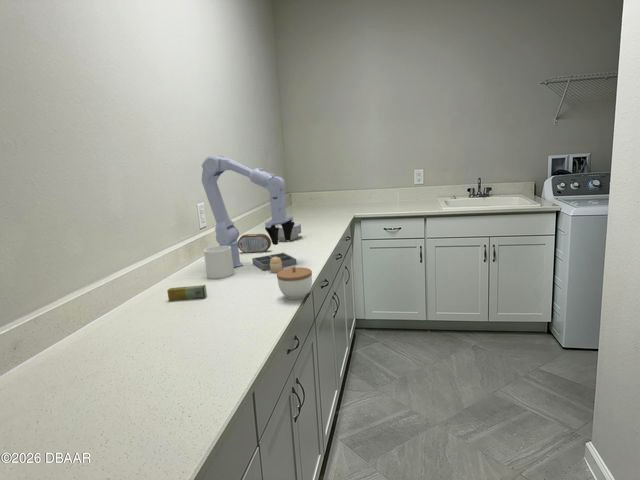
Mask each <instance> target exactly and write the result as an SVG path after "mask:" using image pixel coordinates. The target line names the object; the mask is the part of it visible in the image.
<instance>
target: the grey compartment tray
mask: <svg viewBox="0 0 640 480" xmlns="http://www.w3.org/2000/svg"><path fill="white" fill-rule="evenodd" d="M275 256H276V257H279V258H280V259H281V261H282V268H285V267H290V266H294V265H295V266H296V265H298V263H297V258H295V257H294V256H292V255H289V254H287V253H285V252H280V253H274V254H269V255H263V256H259V257H258V256H257V257H252V258H251V259H252V264H253V265H254V266H256V267H257V268H258V269H260V270H261V271H263V272H265V271H269V270H270V271H271V269H270V260H271V258H272V257H275Z"/></svg>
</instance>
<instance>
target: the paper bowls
mask: <svg viewBox="0 0 640 480" xmlns="http://www.w3.org/2000/svg"><path fill="white" fill-rule="evenodd" d="M293 222H294V226H293V229H292V232H291V239H290V240H285V237H284V231H283V228H282V225H281V224H279V225H276V226H275V227H279V231H278V242H290V241H294V240H296V239H297V238H298V236H299V235H300V234H301V233H302V225H301V222H297V221H293Z"/></svg>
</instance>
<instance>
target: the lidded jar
mask: <svg viewBox="0 0 640 480" xmlns="http://www.w3.org/2000/svg"><path fill="white" fill-rule="evenodd" d="M312 275H313V271H312V269H311V268H307V267H300V266H299V267H298V266H297V267H296V266H292V267H289V268H284V269H282V270H281V271H279V272H278V273H276V277H277V283H278V284H277V285H278V288H279V291H280V293H281V294H282V295H283V296H285V297H286V299H288V300H292V301H293V300H294V301H295V300H302V299H304V298H306V297H307V295H308V294H309V293H310V291H311V289H312V285H313V284H312V283H313V276H312Z"/></svg>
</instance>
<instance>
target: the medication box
mask: <svg viewBox="0 0 640 480" xmlns="http://www.w3.org/2000/svg"><path fill="white" fill-rule="evenodd" d="M207 297H208V293H207V286H206V284H202V285H191V286H190V285H189V286H180V287H170V288H168V289H167V298H168V302H177V301H191V300H192V301H193V300H204V299H205V300H206V299H207Z"/></svg>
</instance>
